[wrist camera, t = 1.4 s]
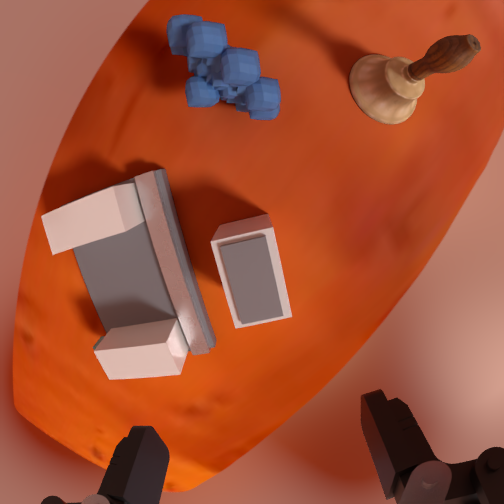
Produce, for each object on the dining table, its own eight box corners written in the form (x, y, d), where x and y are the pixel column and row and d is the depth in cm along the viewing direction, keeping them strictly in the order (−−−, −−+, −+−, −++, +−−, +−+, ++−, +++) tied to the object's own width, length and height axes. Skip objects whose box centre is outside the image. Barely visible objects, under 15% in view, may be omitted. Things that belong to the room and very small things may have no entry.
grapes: (160, 86, 26) (110, 46, 14) (204, 41, 24) (180, -20, 13) (244, 154, 28) (238, 144, 16) (290, 106, 26) (314, 68, 15)
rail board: (67, 204, 29) (33, 213, 23) (165, 168, 28) (142, 169, 22) (123, 352, 34) (104, 383, 28) (216, 339, 33) (209, 374, 27)
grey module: (219, 224, 30) (209, 242, 23) (268, 213, 29) (273, 228, 22) (238, 295, 32) (235, 330, 25) (283, 285, 32) (292, 318, 24)
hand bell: (374, 136, 27) (473, 118, 12) (334, 68, 25) (402, -4, 10) (427, 110, 26) (528, 89, 10) (391, 47, 24) (472, -10, 8)
